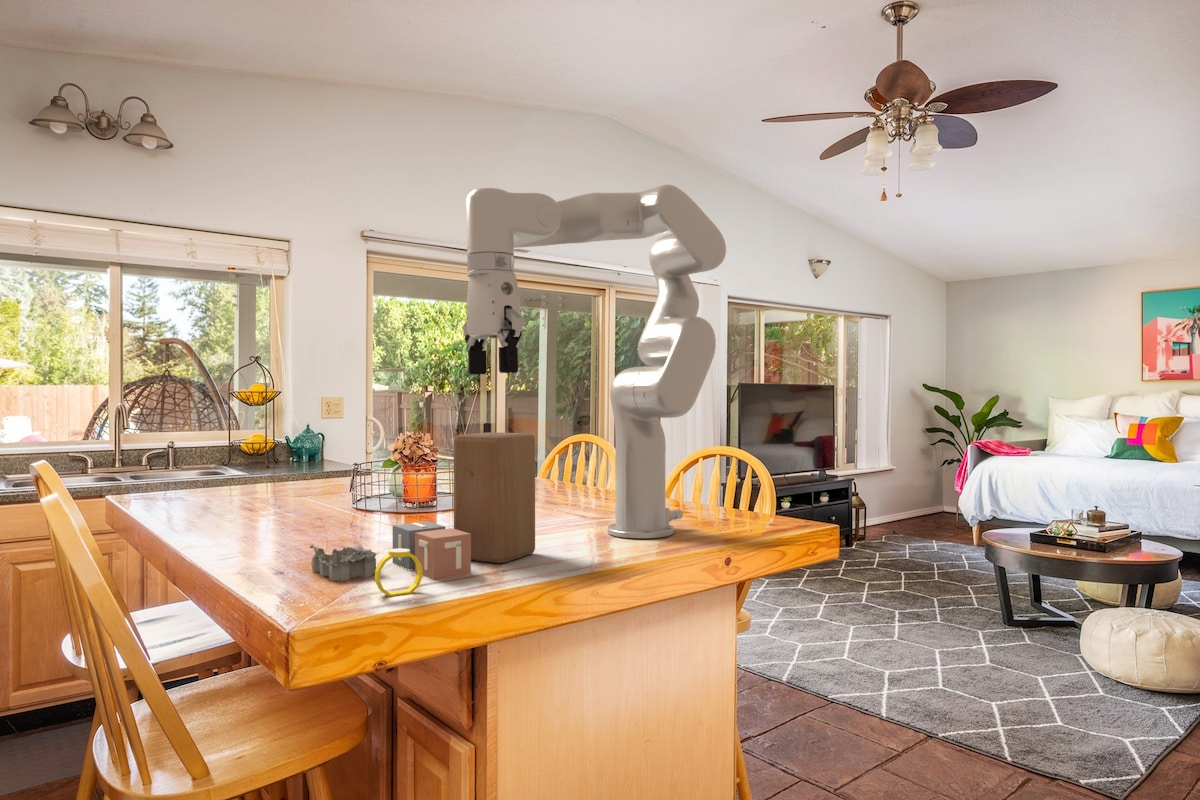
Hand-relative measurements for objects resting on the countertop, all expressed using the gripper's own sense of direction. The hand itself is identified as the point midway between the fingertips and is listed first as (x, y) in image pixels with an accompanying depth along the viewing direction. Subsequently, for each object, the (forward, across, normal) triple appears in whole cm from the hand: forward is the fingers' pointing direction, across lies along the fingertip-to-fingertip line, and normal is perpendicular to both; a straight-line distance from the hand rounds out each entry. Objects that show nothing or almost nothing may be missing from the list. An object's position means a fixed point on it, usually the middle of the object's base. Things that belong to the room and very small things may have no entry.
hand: (492, 373), depth 122 cm
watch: (+30, -12, +22) cm, 39 cm away
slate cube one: (+30, +3, +12) cm, 32 cm away
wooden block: (+30, 0, 0) cm, 30 cm away
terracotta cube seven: (+30, -5, +12) cm, 33 cm away
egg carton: (+30, +5, +23) cm, 38 cm away
